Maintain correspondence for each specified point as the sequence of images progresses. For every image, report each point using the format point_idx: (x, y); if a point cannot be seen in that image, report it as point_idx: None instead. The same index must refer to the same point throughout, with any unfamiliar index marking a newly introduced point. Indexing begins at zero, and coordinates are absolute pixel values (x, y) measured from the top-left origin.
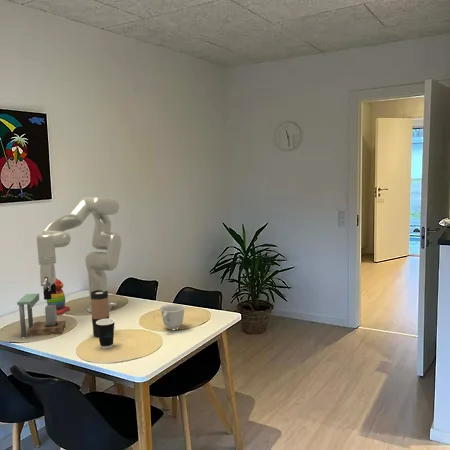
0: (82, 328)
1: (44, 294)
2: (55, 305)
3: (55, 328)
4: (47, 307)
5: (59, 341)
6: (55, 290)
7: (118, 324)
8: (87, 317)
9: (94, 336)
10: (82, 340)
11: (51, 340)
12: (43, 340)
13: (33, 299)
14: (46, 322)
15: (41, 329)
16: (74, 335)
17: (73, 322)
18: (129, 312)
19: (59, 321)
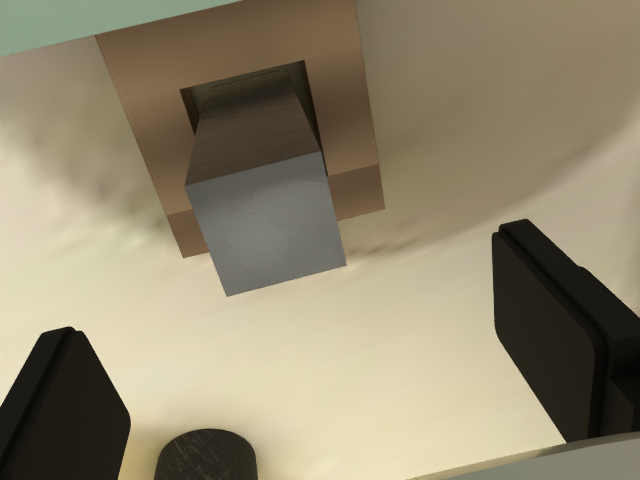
0: (323, 320)
1: (3, 430)
2: (320, 269)
3: (166, 215)
4: (200, 216)
5: (26, 289)
6: (522, 370)
7: (392, 469)
8: (576, 254)
9: (167, 445)
10: None
11: (28, 222)
12: (7, 156)
13: (13, 52)
14: (201, 120)
15: (116, 88)
16: (172, 331)
17: (471, 201)
18: None
19: (359, 166)
